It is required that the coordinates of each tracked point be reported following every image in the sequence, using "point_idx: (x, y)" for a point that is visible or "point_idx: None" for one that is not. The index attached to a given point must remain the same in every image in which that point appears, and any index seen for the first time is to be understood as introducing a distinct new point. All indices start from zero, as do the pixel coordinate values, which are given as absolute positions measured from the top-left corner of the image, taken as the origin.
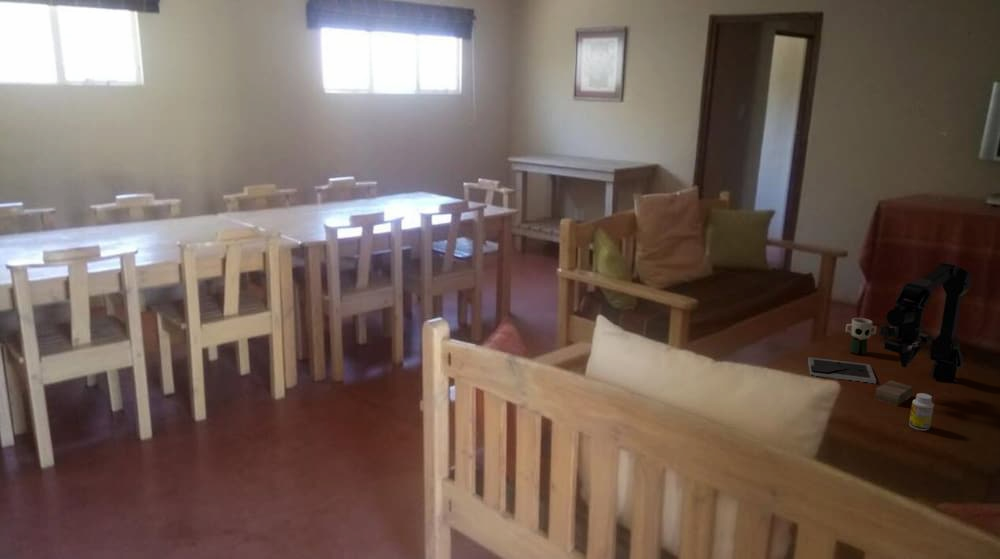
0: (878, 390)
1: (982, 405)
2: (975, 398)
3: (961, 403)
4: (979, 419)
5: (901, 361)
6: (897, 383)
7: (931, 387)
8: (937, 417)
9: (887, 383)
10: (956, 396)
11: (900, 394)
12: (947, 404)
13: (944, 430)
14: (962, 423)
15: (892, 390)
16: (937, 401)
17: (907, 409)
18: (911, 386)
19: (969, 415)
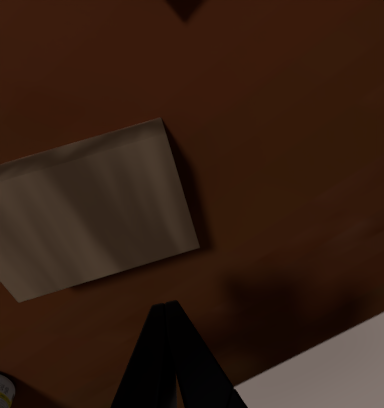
0: None
1: (335, 321)
2: (380, 286)
3: (300, 300)
4: None
5: (132, 363)
6: (160, 188)
7: (378, 172)
8: (115, 351)
9: (91, 166)
10: (351, 261)
11: (41, 294)
12: (251, 296)
13: (54, 404)
14: None
15: (32, 252)
16: (246, 272)
17: (59, 293)
18: (197, 242)
19: (226, 356)
